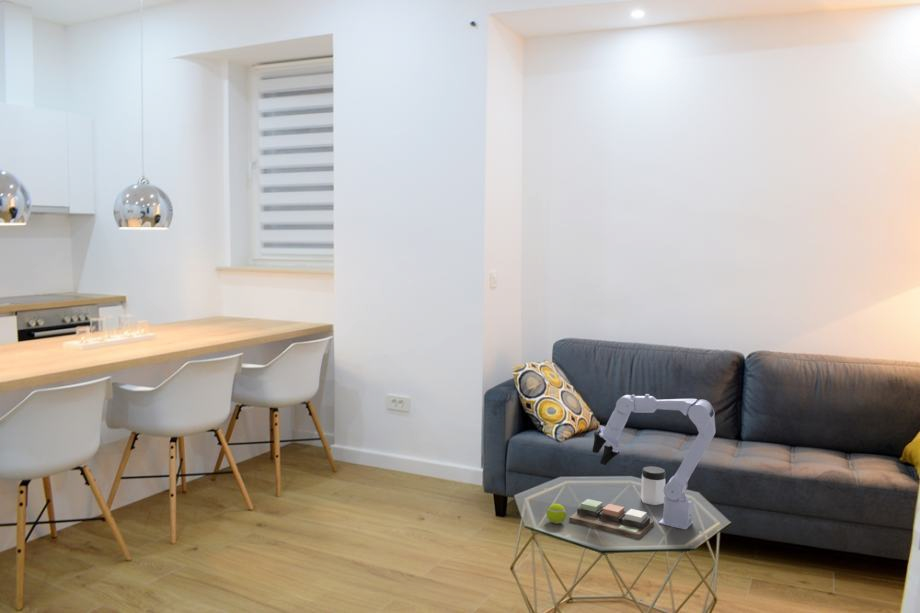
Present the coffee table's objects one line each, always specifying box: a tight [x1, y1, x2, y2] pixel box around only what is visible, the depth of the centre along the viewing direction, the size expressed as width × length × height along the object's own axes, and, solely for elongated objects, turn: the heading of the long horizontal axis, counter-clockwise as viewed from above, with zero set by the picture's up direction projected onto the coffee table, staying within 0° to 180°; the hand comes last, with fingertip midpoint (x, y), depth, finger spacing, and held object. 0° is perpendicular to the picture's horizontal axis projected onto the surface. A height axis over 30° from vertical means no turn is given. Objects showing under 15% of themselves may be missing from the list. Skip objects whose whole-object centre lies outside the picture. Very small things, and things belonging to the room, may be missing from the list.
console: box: [568, 505, 655, 540], centre depth 266 cm, size 25×14×3 cm, turn 57°
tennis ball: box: [546, 503, 567, 525], centre depth 264 cm, size 7×7×7 cm
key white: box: [625, 508, 648, 523], centre depth 262 cm, size 6×6×2 cm
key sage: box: [580, 498, 603, 512], centre depth 271 cm, size 6×6×2 cm
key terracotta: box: [603, 503, 625, 517], centre depth 267 cm, size 6×6×2 cm
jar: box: [640, 465, 666, 506], centre depth 287 cm, size 9×8×12 cm
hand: (598, 458), depth 278 cm, fingers open, 7 cm apart
